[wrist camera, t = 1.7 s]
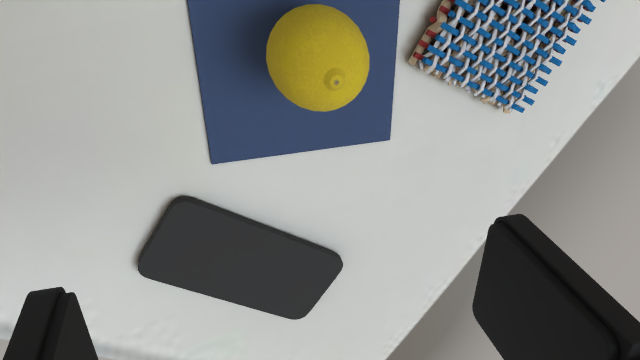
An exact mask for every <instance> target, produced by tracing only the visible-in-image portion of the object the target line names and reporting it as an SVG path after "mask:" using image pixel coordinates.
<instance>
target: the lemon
mask: <svg viewBox="0 0 640 360" xmlns="http://www.w3.org/2000/svg"><path fill="white" fill-rule="evenodd" d="M266 61H267V66H268V70H269V74H270V76H271V78H272V80H273V82H274V84H275V86H276V87H277V89H278V90H279V91H280V92H281V93H282V94H283V95H284V96H285V97H286V98H287V99H288V100H290V101H291V102H293V103H294V104H296V105H298V106H299V107H302V108H305V109H308V110H311V111H322V112H326V111H331V110H336V109H338V108H340V107H343V106H345V105H346V104H348V103H349V102H350V101H352V100H353V99H354V98H355V97H356V96H357V95H358V94H359V92H360V91H361V90H362V88H363V86H364V84H365V82H366V79H367V76H368V72H369V52H368V48H367V44H366V41H365V39H364V37H363V35H362V33H361V31H360V29H359V28H358V26H357V25H356V24H355V23H354V22H353V21H352V20H351V19H350V18H349V17H348V16H347V15H346V14H344V13H342V12H341V11H339V10H337V9H335V8H333V7H330V6H326V5H322V4H306V5H303V6H300V7H297V8H294V9H292V10H291V11H289V12H287V13H286V14H284V15H283V16H282V17H281V18H280V19H279V20H278V22H277V23H276V24H275V26H274V28H273V29H272V31H271V33H270V36H269V39H268V43H267V49H266Z"/></svg>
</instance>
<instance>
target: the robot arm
mask: <svg viewBox="0 0 640 360" xmlns="http://www.w3.org/2000/svg"><path fill="white" fill-rule="evenodd" d="M473 313H474V316H475V318H476V320H477V321H478V323H479V325H480V326H481V327H482V329H483V330H484V332H485V333H486V335H487V336H488V337H489V339H490V340H491V342H492V343H493V345H494V346H495V347H496V349H497V350H498V352H499V353H500V355H501V356H502V358H503V359H504V360H640V322H639V321H638V320H637V319H635V318H634V317H633V316H632V315H631V314H630V313H629V312H628V311H627V310H626V309H625V308H624V307H622V306H621V305H620V304H619V303H618V302H617V301H616V300H615V299H614V298H613V297H612V296H611V295H610V294H608V292H606V291H605V290H604V289H603V288H602V287H601V286H600V285H599V284H598V283H597V282H596V281H595V280H593V279H592V278H591V277H590V276H589V275H588V274H587V273H586V272H585V271H584V270H583V269H582V268H580V266H578V265H577V264H576V263H575V262H574V261H573V260H572V259H571V258H570V257H569V256H568V255H567V254H566V253H564V252H563V251H562V250H561V249H560V248H559V247H558V246H557V245H556V244H555V243H554V242H553V241H552V240H550V239H549V238H548V237H547V236H546V235H545V234H544V233H543V232H542V231H541V230H540V229H539V228H538V227H536V226H535V225H534V224H533V223H532V222H531V221H530V220H529V219H528V218H527V217H526V216H524V215H522V214H516V215H509V216H503V217H499V218H497V219H496V220H495V222H494V224H492V225H491V226H490V227H489V230H488V235H487V239H486V244H485V249H484V253H483V258H482V263H481V267H480V272H479V277H478V281H477V286H476V291H475V296H474V300H473ZM3 360H98V357H97V354H96V352H95V349H94V346H93V343H92V340H91V337H90V334H89V332H88V329H87V326H86V323H85V320H84V317H83V314H82V312H81V309H80V306H79V303H78V300H77V297H76V295H75V294H74V292H71V293H66V292H65V290H64V289H63V288H62V287H56V288H50V289H44V290H38V291H31V292H30V293H28V295H27V297H26V300H25V302H24V305H23V308H22V310H21V313H20V316H19V318H18V321H17V323H16V326H15V329H14V331H13V334H12V337H11V339H10V342H9V345H8V348H7V350H6V353H5V355H4V358H3Z"/></svg>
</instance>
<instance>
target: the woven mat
mask: <svg viewBox="0 0 640 360" xmlns="http://www.w3.org/2000/svg"><path fill="white" fill-rule="evenodd" d="M601 1H602V2H605V0H601ZM550 2H551V7H550V8H549V7H548V5H549V3H550ZM502 3H504V4H505V5H506V6H507V7H508V8H507V9H505V10H503V9H502V8H500V7H501V5H502ZM452 4H455V5H456V8H455V9H454V11H452V10H449V9H450V7H451V6H452ZM472 5H473V7H472ZM532 6H534V7H535V8H534V9H533V11H530V9H531V8H532ZM484 7H485V8H484ZM578 7H579V9H577V8H578ZM483 8H484V9H483ZM595 8H596V7H594V6H593V4H592V3H591V2H590V1H589V0H490V2H489V1H488V0H443V1H442V3H441V4H440V6H439V8H438V10H437V18H435V17H433V16H431V18H430V20H429V21H430V22H432V23H433V24H432V25H431V26H429V27H428V28H427V29H426V31H425V33H424V35H423V36H422V38H421V39H420V41H419V42H418V45H417V47H416V49H415V50H414V52H413V54H412V56H411V57H410V59H409V61H408V63H410V64H412V65H413V66H415V64H416V63H417V61H418V60H419V64H420V69H423V71H424V72H425V73H426V74H427V75H428V74H429V73H431V72H433V73H432V75H433V76H435V77H437V78H438V79H439V78H440V77H441V76H442V74H443V73H445V74H444V75H443V79H445V78H446V77H447V78H446V80H445V81H446V82H448V85H452V86H455V85H456V83H457V80H458V83H459V84H460V87H465V86H466V88H465V89H466V90H468V94H470V93H471V90H473V91H475V93H474V94H473V95H474V96H477V95H478V94H479V93H482V95H481V99H480V100H481V101H482V102H483V103H486V102H488V103H489V104H491V105H494V104H495V103H496V102H497V101H499V102H498V104H497V105H499V106H501V103H503V104H504V105H503V113H510V112H512V110H513V109H515V110H517V111H519V112H522V113H523V111H524V110H525V109H524V108H523V107H521V106H519V105H517V103H518V102H520V101H521V100H523V101H524V102H526V103H528V104H530V105H532V104H533V103H534V100H532V99H530V98H528V97H526V96H525V90H528V91H530V92H532V93H534V94H536V93H537V91H538V90H537V89H536V88H534V87H532V86H530V85H529V84H531V83H532V82H534V81H536V82H538V83H540V84H542V85H544V86H546V84H547V83H548V81H546V80H544V79H542V78H540V77H539V76H538V74H539V70H541V71H543V72H545V73H547V74H550V73H551V71H552V70H551V69H549V68H548V67H546V66H545V65H543V64H545V63H546V62H547V61H549V62H552V63H554V64H556V65H557V66H560V64H561V63H562V61H560V60H558V59H557V58H555V57H553V56H552V54H553V50H555V51H556V52H558V53H561V54H564V53H565V51H566V50H565V49H564V48H563V47H561V46H560V45H559V44H558V43H559V42H560V41H564V42H565V43H566V42H567V43H569V44H571V45H573V46H574V44H575V43H576V40H574V39H573V38H571V37H569V36H568V35H567V32H568V30H570V31H571V32H573V33H578V32H579V31H580V30H581V29H579V28H578V27H577V26H576V25H575V23H573V22H574V21H575V20H577V21H579V22H584V23H586V24H588V25H589V23H590V22H591V19H590V18H588V17H586V16H585V15H583V14H582V9H585V10H586V11H590V12H593V11H594V10H595ZM465 11H466V12H468V15H467V17H466V18H464V17H462V16H463V14H464V13H465ZM486 12H487V15H486V14H485V13H486ZM543 13H544V14H545V15H544V16H543V17H541V16H542V14H543ZM498 15H499V16H498ZM448 16H449V17H450V18H449V20H448V21H447V18H448ZM525 17H526V18H528V24H525V23H523V20H524V18H525ZM540 17H541V18H540ZM571 17H572V18H571ZM475 21H476V24H474V23H475ZM481 21H482V22H483V23H482V24H480V22H481ZM553 21H556V23H555V24H554V26H552V24H553ZM458 23H461V27H460V28H459V30H457V29H455V28H456V26H457V24H458ZM505 24H506V27H504V25H505ZM518 28H519V29H520V30H521V31H522V34H520V35H517V34H516V33H515V32H516V31H517V29H518ZM563 29H564V30H563ZM470 30H471V31H470ZM562 30H563V31H562ZM469 31H470V32H469ZM547 31H548V32H549V33H548V34H547V36H546V37H545V33H546V32H547ZM440 32H441V33H440ZM500 32H501V34H500V35H499V33H500ZM438 33H440V35H439V34H438ZM452 34H453V35H455V36H456V37H455V39H453V40H452V41H451V36H452ZM483 37H485V38H484V40H483ZM502 37H503V41H502V40H501V38H502ZM432 38H433V39H435V40H436V42H435V43H434V45H433V46H432V45H430V44H429V43H430V42H431V40H432ZM557 38H558V39H557ZM556 39H557V40H556ZM513 40H514V41H513ZM540 42H542V43H543V44H542V49H540V48H539V47H538V45H539V44H540ZM496 45H498V46H500V47H499V48H497V49H496ZM447 46H448V49H447V52H446V53H445V52H443V50H444V49H445V48H446V47H447ZM491 46H492V48H491V49H490V47H491ZM521 47H522V50H521V52H520V51H519V50H520V48H521ZM425 49H427V50H428V51H430V52H428V53H426V54H424V55H422V54H423V52H424V51H425ZM475 52H476V53H475ZM474 53H475V54H474ZM533 53H535V54H536V55H538V56H537V57H536V58H534V59H532V58H531V57H532V55H533ZM486 54H488V55H487V56H486V57H485V55H486ZM429 56H430V58H428V57H429ZM514 56H517V58H516V59H514V60H513V61H512V59H513V58H514ZM440 57H442V58H441V60H440ZM470 59H472V65H471V66H469V65H468V64H469V61H470ZM499 61H500V62H499ZM498 62H499V63H498ZM516 62H517V64H516ZM423 63H425V64H426V66H425V67H424V68H423ZM448 66H449V67H448ZM508 66H509V68H508V72H505V70H506V68H507V67H508ZM447 67H448V68H447ZM512 69H513V70H512ZM465 70H466V73H465V74H463V76H462V75H461V74H462V73H463V72H464V71H465ZM534 71H535V74H534ZM489 76H490V77H489ZM502 76H503V77H504V78H503V79H502V80H500V79H501V77H502ZM530 78H531V79H530ZM529 79H530V80H529ZM499 80H500V81H499ZM528 80H529V81H528ZM486 81H487V82H488V85H487V87H485V83H486ZM511 82H512V83H511ZM510 84H511V86H510V87H508V86H509V85H510ZM504 91H506V92H507V93H506V94H504V95H503V96H501V95H502V94H503V93H504ZM520 92H521V93H520ZM516 98H518V99H516ZM515 99H516V100H515Z"/></svg>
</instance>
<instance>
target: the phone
mask: <svg viewBox="0 0 640 360" xmlns="http://www.w3.org/2000/svg"><path fill="white" fill-rule="evenodd" d="M342 267H343V262H342V260H341V258H340V256H339V255H338V254H337V253H335V252H333V251H331V250H328V249H326V248H323V247H320V246H318V245H315V244H312V243H310V242H307V241H305V240H302V239H299V238H297V237H294V236H292V235H289V234H286V233H284V232H281V231H279V230H276V229H273V228H271V227H268V226H265V225H263V224H260V223H258V222H255V221H252V220H250V219H247V218H245V217H242V216H239V215H237V214H234V213H232V212H229V211H226V210H224V209H221V208H218V207H216V206H213V205H211V204H208V203H205V202H203V201H200V200H197V199H195V198H191V197H180V198H177V199H175V200H174V201H173V202H172V203H171V204H170V205H169V207H168V208H167V210H166V212H165V213H164V215H163V217H162V219H161V220H160V222H159V224H158V225H157V227H156V229H155V231H154V232H153V234H152V236H151V237H150V239H149V241H148V243H147V244H146V246H145V248H144V250H143V251H142V253H141V255H140V257H139V260H138V271H139V273H140V274H141V275H142V276H144V277H146V278H149V279H152V280H155V281H159V282H162V283H166V284H169V285H173V286H176V287H180V288H183V289H187V290H190V291H194V292H197V293H201V294H204V295H207V296H211V297H214V298H218V299H221V300H225V301H228V302H232V303H235V304H239V305H242V306H246V307H249V308H253V309H256V310H260V311H263V312H267V313H270V314H274V315H277V316H281V317H284V318H288V319H301V318H303V317H305V316H306V315H307V314H308V313H309V312H310V311H311V309H312V308H313V307H314V306H315V304H316V303H317V302H318V300H319V299H320V298H321V296H322V295H323V294H324V293H325V291H326V290H327V289H328V287H329V286H330V285H331V283H332V282H333V281H334V279H335V278H336V277H337V275H338V274H339V273H340V271H341V270H342Z"/></svg>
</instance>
